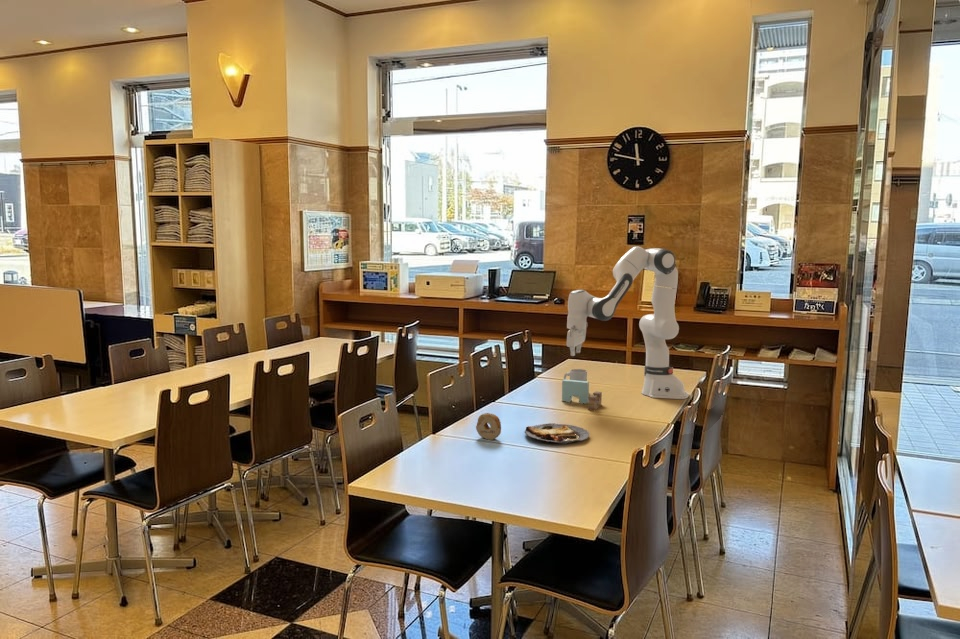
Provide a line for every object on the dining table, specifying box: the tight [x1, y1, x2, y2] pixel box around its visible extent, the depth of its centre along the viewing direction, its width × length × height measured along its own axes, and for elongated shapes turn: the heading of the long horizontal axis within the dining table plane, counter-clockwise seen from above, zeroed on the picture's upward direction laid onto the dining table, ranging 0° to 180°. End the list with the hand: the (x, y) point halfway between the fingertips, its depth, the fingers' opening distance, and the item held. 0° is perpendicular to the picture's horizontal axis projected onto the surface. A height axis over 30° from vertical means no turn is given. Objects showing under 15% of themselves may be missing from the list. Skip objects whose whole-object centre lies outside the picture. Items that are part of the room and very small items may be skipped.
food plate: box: [524, 422, 590, 445], centre depth 270 cm, size 25×23×4 cm
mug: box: [563, 368, 588, 381], centre depth 345 cm, size 12×8×11 cm
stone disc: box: [475, 412, 502, 441], centre depth 267 cm, size 10×4×10 cm, turn 56°
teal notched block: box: [561, 378, 590, 405], centre depth 324 cm, size 12×3×10 cm, turn 66°
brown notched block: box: [587, 390, 602, 411], centre depth 315 cm, size 12×3×6 cm, turn 156°
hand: (575, 354), depth 322 cm, fingers open, 8 cm apart
